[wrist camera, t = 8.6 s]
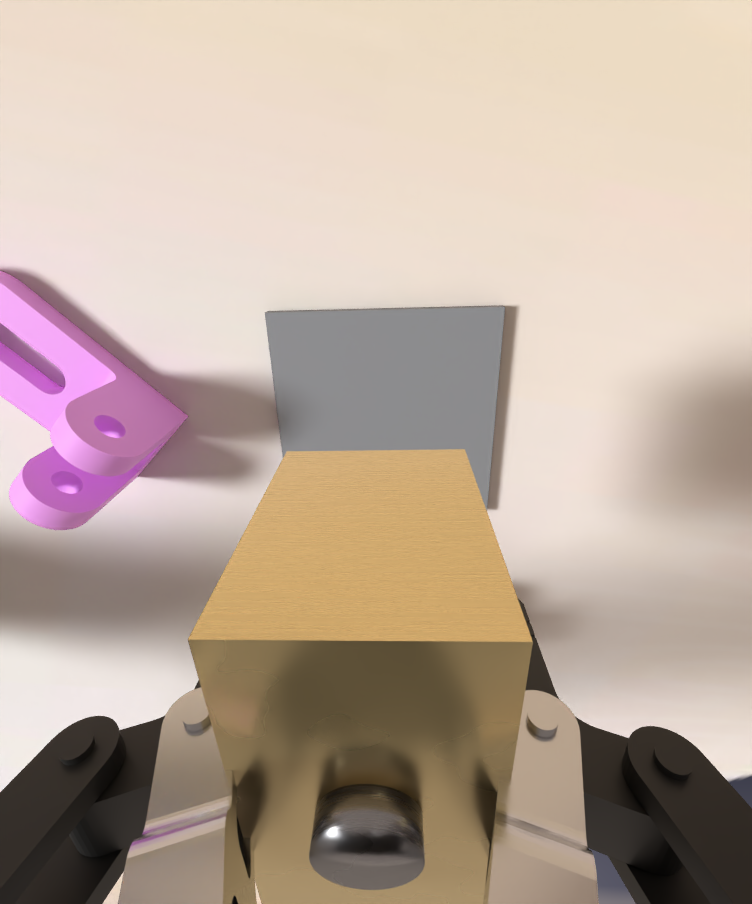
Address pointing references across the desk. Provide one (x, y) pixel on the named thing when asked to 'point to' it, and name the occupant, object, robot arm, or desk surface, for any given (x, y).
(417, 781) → the lever cap
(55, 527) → the bracket
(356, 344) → the mat
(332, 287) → the desk surface
